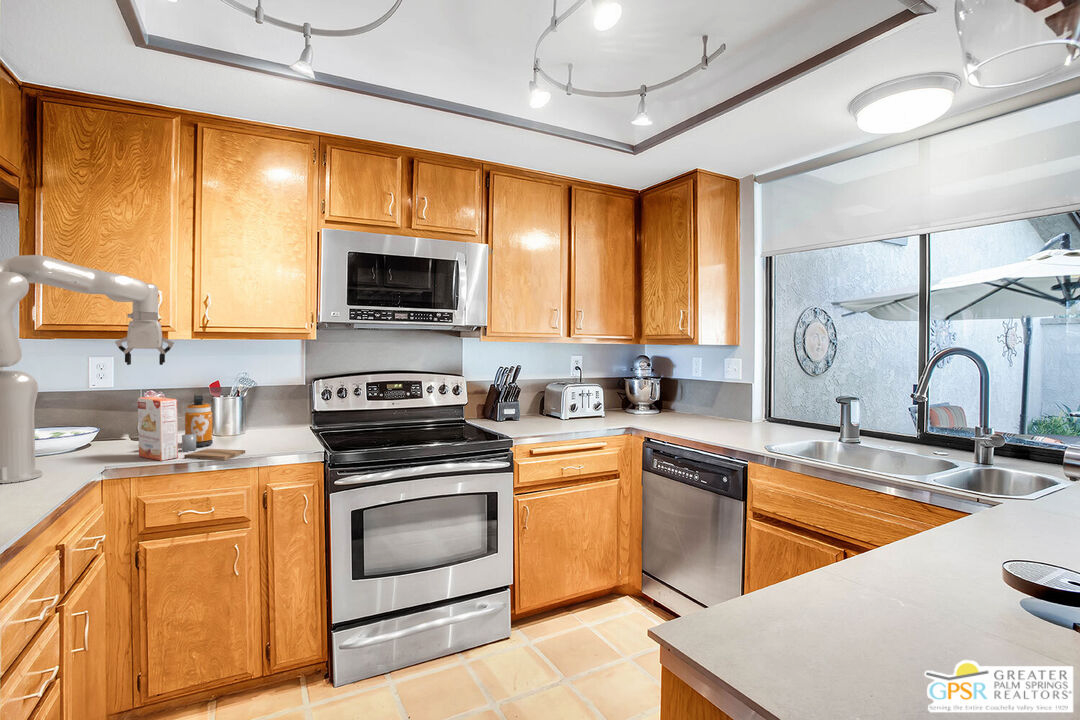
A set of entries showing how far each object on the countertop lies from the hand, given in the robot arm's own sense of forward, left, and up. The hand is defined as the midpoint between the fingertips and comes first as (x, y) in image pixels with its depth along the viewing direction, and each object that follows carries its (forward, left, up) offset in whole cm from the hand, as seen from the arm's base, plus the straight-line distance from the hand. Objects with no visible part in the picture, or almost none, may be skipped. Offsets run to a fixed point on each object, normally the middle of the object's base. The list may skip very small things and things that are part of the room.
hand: (145, 364), depth 197 cm
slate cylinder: (+3, -14, -32) cm, 35 cm away
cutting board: (-3, -29, -32) cm, 43 cm away
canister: (+13, -10, -32) cm, 36 cm away
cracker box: (-9, -12, -32) cm, 35 cm away
